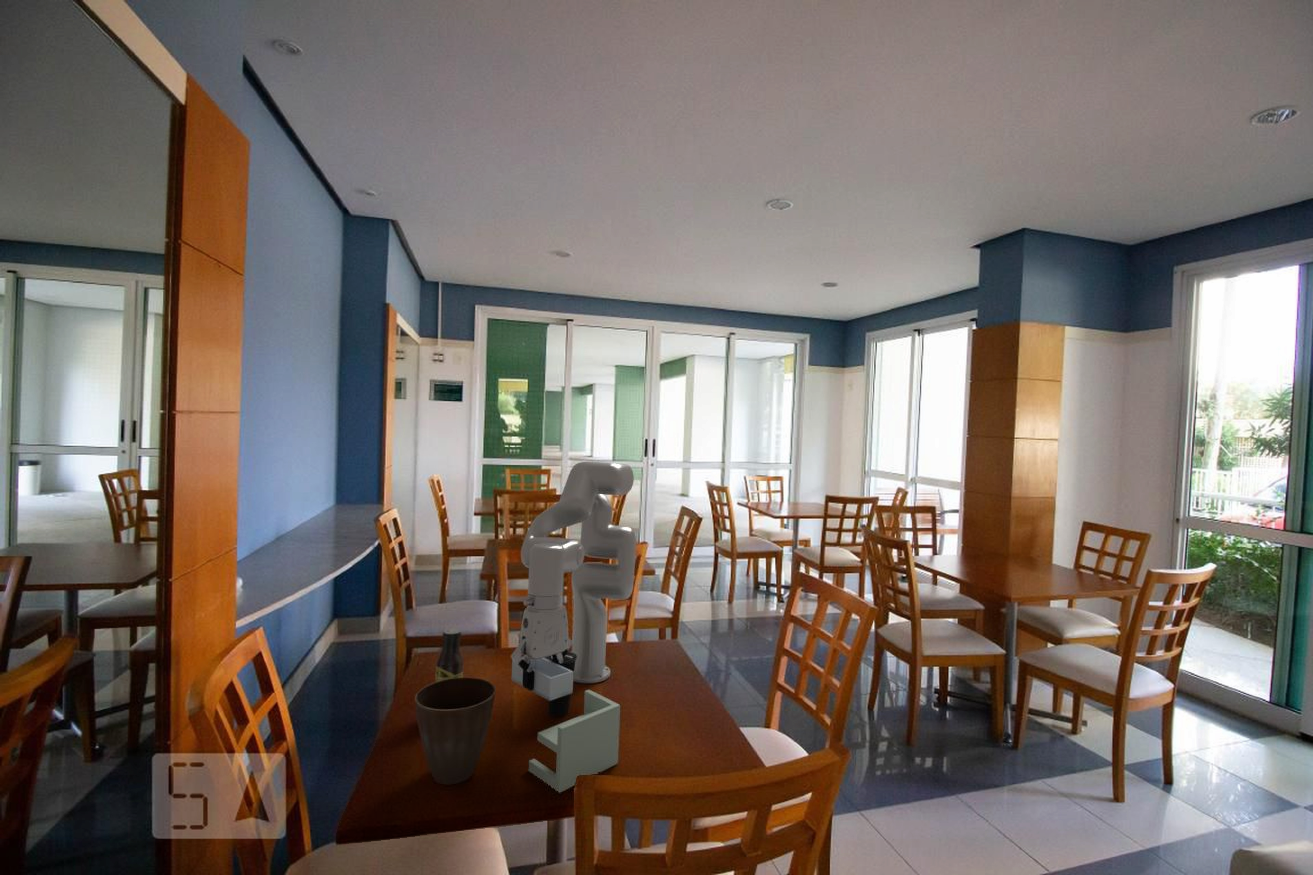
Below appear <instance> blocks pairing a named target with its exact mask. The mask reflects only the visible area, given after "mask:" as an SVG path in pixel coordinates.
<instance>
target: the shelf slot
mask: <svg viewBox="0 0 1313 875" xmlns="http://www.w3.org/2000/svg"><path fill="white" fill-rule="evenodd" d="M583 700H584V701H583V714H581V715H579V716H576V717H574V718H571V719H569V720H566V721H563V722H561V723H559V724H556V725H553V726H551V727H548V728H546V729H543V730H541V731H539V732H537V741H538V742H539V743H540V744H542V745H544V746H546V747H547V748H549V749H550V750H551V751H553V752H555V753H556V766H555V769H556V770H555V772H554V771H552V769H550V768H549V767H547V766H546V765H544V764H542V763H541V762H540V761H538V760H537V759H535V758H532V759H529V760H528V772H529V773H531V774H532V773H533V776H535V777H536V776H537V778H538V779H539V778H540V779H539V780H541V779H542V780H543V781H544V782H543V781H542V780H541V781H542V782H543V783H545V782H546V783H547V784H548V785H547V784H546V783H545V784H546V785H547V786H549V785H550V786H551V789H553V788H554V789H555V791H556V792H557V791H558V792H559V794H560V793H562V792H564V791H566V790H568V789H570V788H572V787H573V786H576V785H575V782H576V778H577V776H579V775H591V774H596V775H597V774H599V773H598V772H600V773H602V772H604V771H606V770H608V769H610V768H612V767H613V766H615V765H618V764H619V746H620V745H619V744H620V742H619V741H620V723H621V722H620V721H621V718H620V716H621V705H620V704H619V703H618V702H615V701H613V700H611V699H609V698H607V697H605V696H603V695H601V694H598V693H597V692H595V691H592V690H591V689H587V690H585V691H584V699H583ZM550 786H549V787H550ZM554 789H553V790H554ZM558 792H557V793H558Z"/></svg>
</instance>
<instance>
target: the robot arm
mask: <svg viewBox="0 0 1313 875" xmlns="http://www.w3.org/2000/svg"><path fill="white" fill-rule="evenodd" d="M634 478H635V476H634V472H633V469H632V467H631V465H629V464H625V463H614V462H603V461H602V462H599V461H582V462H577V463H576V464H574V465H573V466H572V467H571V470H570V472H569V474H568V476H567V479H566V482H565V486H564V487H563V490H562V493H561V495H560V497H559V501H558V502H557V503H554V504H553V505H551V506H550V507H548V508H546V509H545V510H544V511H543V512H541V513H540V514H539V515H537V516H536V517H535V519H533V521H532V522H531V524H530V525H529V527H528V530H527V533H526V535H525V538H524V540H523V542H522V546H521V549H520V559H521V563H522V564H523V565H524V566H525V568H528V584H527V586H528V587H527V598H525V599H524V600H523V601H522V602H523V605H524V606H526V608H525V609H524V612H523V617H522V621H521V628H520V634H519V635H520V636H519V644H518V645H517V647H516V648H515V650H513V652H512V653H511V655H510V658H511V660H514V661H515V662H516V663H517V664H518V665H519V666H520V667H521V669H523V686H522V687H523V688H524V689H526V690H528V691H530V692H532V690H533V689H534V674H535V673H534V671H532V670H533V667H534V664H535V661H536V659H540V658H545V657H548V656H551V658H552V660H550V661H552V662H554V663H556V664H558V665H560V666H561V663H562V662H563V658H564V656H565V655H566V653H567V651H569V649H571V651H570V652H572V653H575V654H576V655H577V659H576V661H575V668H574V676H573V683H574V682H575V683H579V684H595V683H596V684H597V683H599V682H600V683H602V682H604V681H606V680H607V679H608V678H610V675H611V669H610V667H608V666H607V665H606V651H607V650H606V649H607V648H606V647H607V629H608V627H607V625H608V624H607V623H608V613H607V612H608V611H607V608H606V606H605V604H604V602H603V600H602V599H610V600H628V599H629V598H630V597H631V595H632V593H633V590H634V580H635V566H636V565H635V564H636V550H637V538H636V533H635V531H634V529H632V528H631V527H630V526H627V525H613V522H612V521H613V506H612V503H611V502H610V499H609V498H608V496H624V495H627V494H628V493H630V492H631V490H632V488H633V486H634ZM607 495H608V496H607ZM580 523H581V528H580V529H581V531H580V541H578V540H577V539H575V538H574V539H572V538H565V537H564V538H563V537H553V536H552V537H550V536H549V535H550V534H552V533H554V532H556V531H558V530H561V529H564V528H568V527H571V526H574V525H577V524H580ZM585 556H586V557H588V558H592V559H593V558H595V559H607V560H609V559H610V560H615V561H617V564H616V563H614V564H613V563H605V562H593V561H592V562H589V561H588V562H584V560H585ZM566 573H571V589H572V596H573V615H572V616H573V620H572V639H571V638H570V637H569V621H568V620H569V619H568V613H567V607H566V605H564V604H563V603H564V600H563V599H564V580H565V578H564V577H565V576H564V575H565V574H566ZM522 655H523V657H524V658H523V659H522V658H521V657H522ZM529 658H530V660H529ZM528 661H529V663H528Z"/></svg>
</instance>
